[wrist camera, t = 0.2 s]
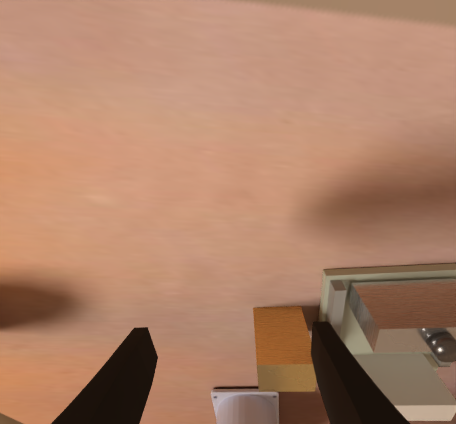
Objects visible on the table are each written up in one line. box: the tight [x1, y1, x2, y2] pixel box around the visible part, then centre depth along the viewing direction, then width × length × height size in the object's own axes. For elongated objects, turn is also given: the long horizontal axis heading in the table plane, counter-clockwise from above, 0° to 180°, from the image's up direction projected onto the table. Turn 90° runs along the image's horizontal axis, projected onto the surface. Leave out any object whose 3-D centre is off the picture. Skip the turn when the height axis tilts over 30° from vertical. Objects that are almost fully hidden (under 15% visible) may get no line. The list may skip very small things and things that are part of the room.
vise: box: [318, 263, 456, 421], centre depth 21 cm, size 14×12×5 cm
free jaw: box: [348, 278, 456, 362], centre depth 18 cm, size 2×8×5 cm, turn 95°
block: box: [253, 306, 316, 392], centre depth 21 cm, size 4×4×6 cm
